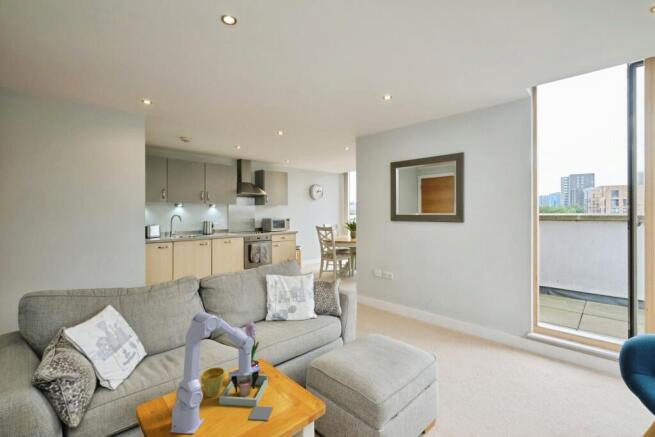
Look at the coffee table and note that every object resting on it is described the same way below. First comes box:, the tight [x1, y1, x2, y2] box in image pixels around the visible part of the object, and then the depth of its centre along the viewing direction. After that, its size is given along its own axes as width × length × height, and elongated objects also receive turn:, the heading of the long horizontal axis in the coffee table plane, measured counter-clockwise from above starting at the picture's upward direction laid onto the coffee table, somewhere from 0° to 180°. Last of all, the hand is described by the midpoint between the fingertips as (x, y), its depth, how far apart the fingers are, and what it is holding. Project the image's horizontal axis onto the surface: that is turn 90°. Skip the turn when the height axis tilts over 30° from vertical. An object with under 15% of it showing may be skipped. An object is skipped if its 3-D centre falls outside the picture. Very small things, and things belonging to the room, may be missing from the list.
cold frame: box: [218, 373, 269, 407], centre depth 139 cm, size 17×17×5 cm
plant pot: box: [200, 366, 226, 398], centre depth 140 cm, size 10×10×10 cm
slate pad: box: [248, 405, 274, 422], centre depth 125 cm, size 8×8×1 cm
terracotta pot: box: [237, 378, 251, 398], centre depth 139 cm, size 6×6×6 cm
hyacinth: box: [244, 320, 260, 374], centre depth 154 cm, size 9×10×30 cm
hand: (244, 389), depth 139 cm, fingers open, 7 cm apart
